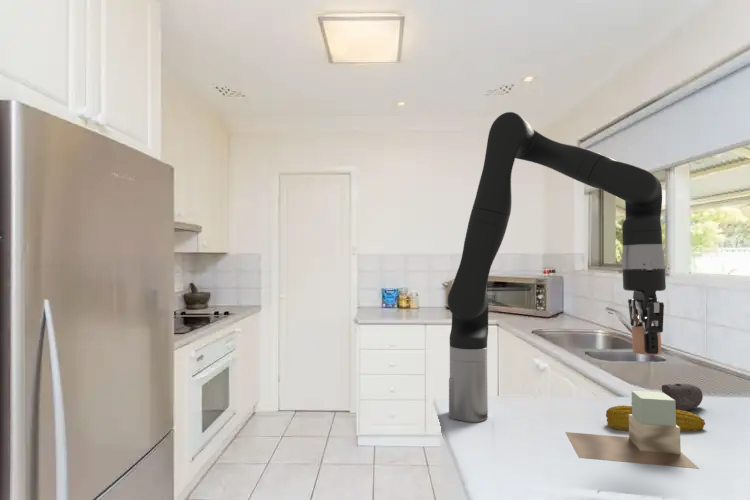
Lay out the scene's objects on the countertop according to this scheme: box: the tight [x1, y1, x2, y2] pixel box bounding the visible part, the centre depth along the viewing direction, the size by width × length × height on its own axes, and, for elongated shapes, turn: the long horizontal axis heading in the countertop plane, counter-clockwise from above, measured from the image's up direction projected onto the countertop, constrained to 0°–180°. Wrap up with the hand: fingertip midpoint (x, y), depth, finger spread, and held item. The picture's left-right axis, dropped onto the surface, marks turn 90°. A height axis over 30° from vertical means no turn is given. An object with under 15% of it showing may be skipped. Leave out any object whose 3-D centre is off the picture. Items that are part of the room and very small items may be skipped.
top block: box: [631, 390, 676, 427], centre depth 92 cm, size 6×6×5 cm
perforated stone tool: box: [661, 383, 704, 412], centre depth 120 cm, size 15×5×7 cm, turn 112°
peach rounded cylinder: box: [631, 326, 662, 356], centre depth 92 cm, size 5×5×5 cm
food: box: [605, 405, 706, 432], centre depth 103 cm, size 21×6×6 cm, turn 90°
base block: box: [628, 414, 681, 454], centre depth 92 cm, size 7×7×5 cm
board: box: [565, 431, 700, 469], centre depth 90 cm, size 20×14×1 cm
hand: (646, 350), depth 92 cm, fingers closed on peach rounded cylinder, 5 cm apart
